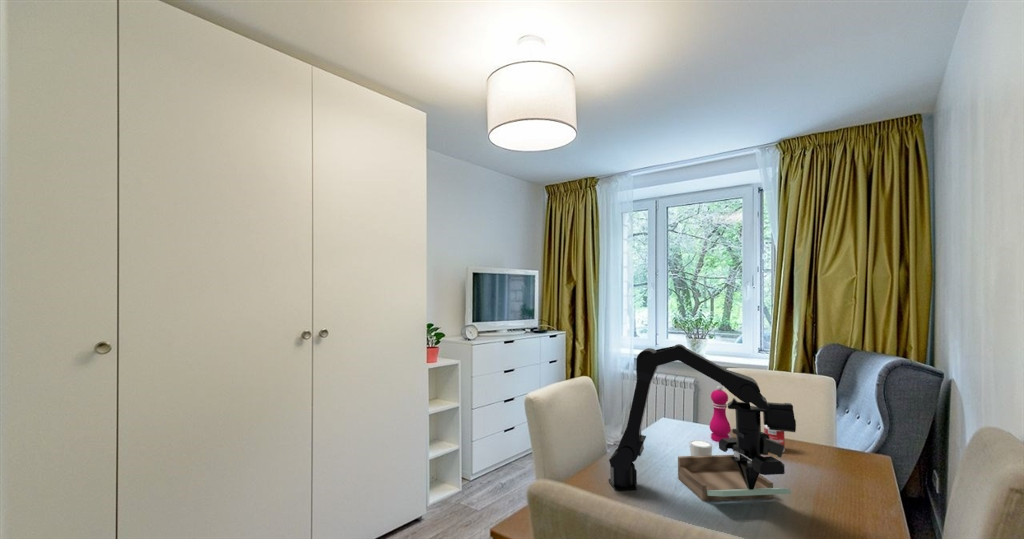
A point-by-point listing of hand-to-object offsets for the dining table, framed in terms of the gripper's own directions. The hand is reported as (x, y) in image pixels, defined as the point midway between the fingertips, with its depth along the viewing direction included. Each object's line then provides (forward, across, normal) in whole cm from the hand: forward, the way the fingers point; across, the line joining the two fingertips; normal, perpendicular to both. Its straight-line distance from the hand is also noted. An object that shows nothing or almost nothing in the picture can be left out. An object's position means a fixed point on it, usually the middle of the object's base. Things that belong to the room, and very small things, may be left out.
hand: (750, 489), depth 113 cm
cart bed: (+5, +12, 0) cm, 13 cm away
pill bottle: (+5, +39, -35) cm, 53 cm away
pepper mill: (+5, +52, -22) cm, 56 cm away
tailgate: (+2, +5, 0) cm, 6 cm away
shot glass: (+5, +28, -2) cm, 29 cm away
